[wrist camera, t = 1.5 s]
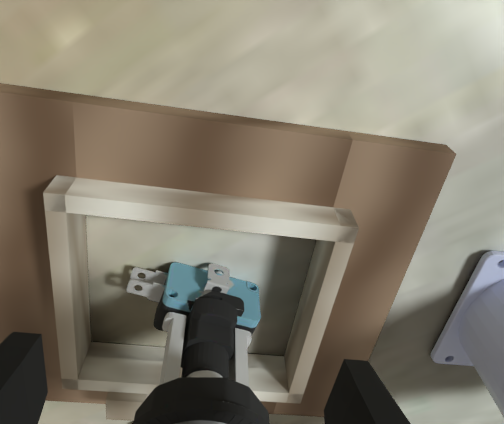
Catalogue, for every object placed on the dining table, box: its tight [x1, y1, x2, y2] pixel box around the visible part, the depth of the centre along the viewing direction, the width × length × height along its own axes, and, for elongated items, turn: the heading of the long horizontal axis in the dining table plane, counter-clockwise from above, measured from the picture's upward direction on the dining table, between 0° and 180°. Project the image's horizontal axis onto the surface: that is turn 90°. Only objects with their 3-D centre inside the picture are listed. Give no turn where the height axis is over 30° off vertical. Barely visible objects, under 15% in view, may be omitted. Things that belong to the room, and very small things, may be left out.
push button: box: [126, 262, 269, 424], centre depth 18 cm, size 7×5×10 cm
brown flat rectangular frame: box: [0, 83, 456, 421], centre depth 21 cm, size 20×18×3 cm
